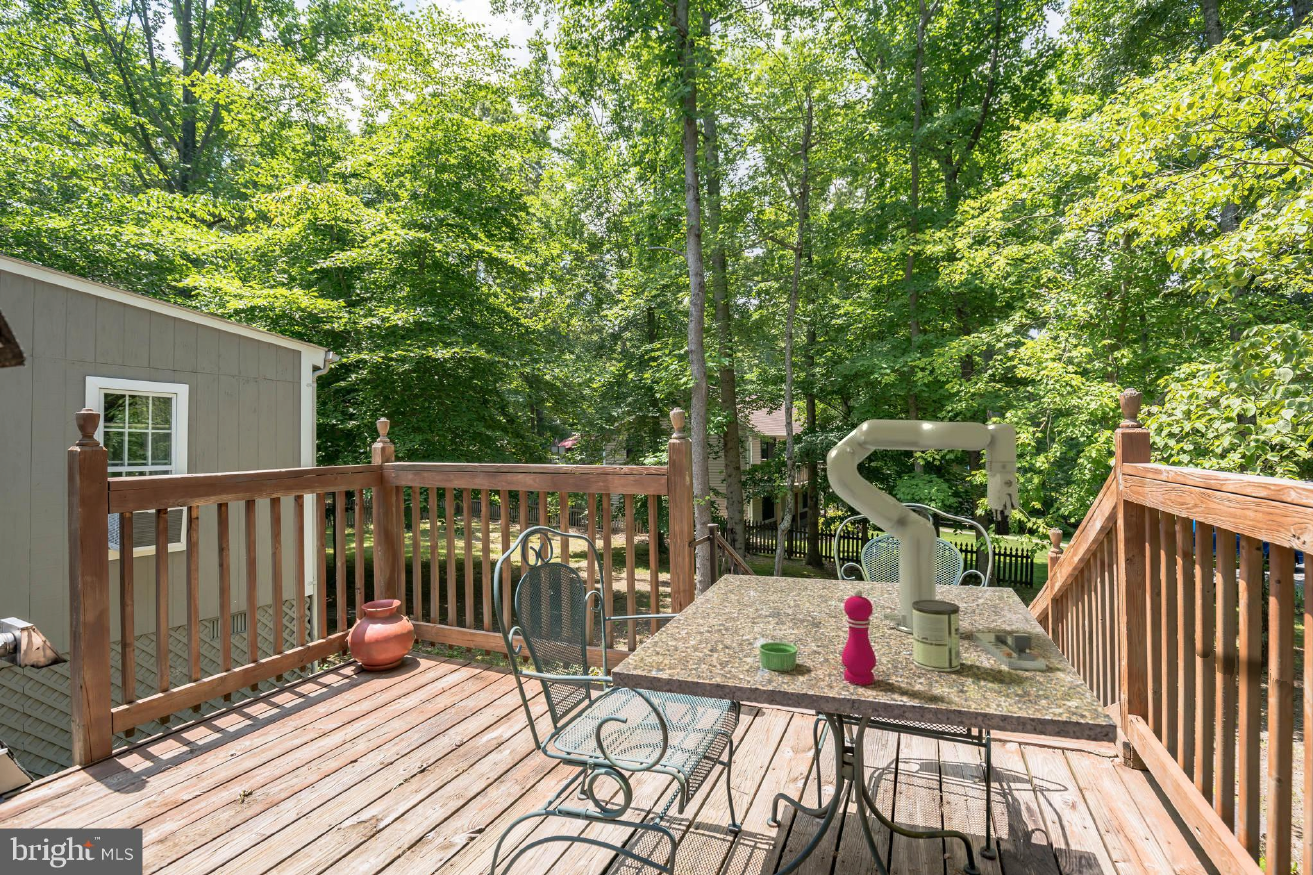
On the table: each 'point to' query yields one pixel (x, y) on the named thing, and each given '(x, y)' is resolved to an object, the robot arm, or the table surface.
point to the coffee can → (936, 635)
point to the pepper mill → (858, 641)
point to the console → (1008, 652)
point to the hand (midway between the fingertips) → (1001, 534)
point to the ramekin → (778, 655)
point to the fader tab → (1021, 642)
